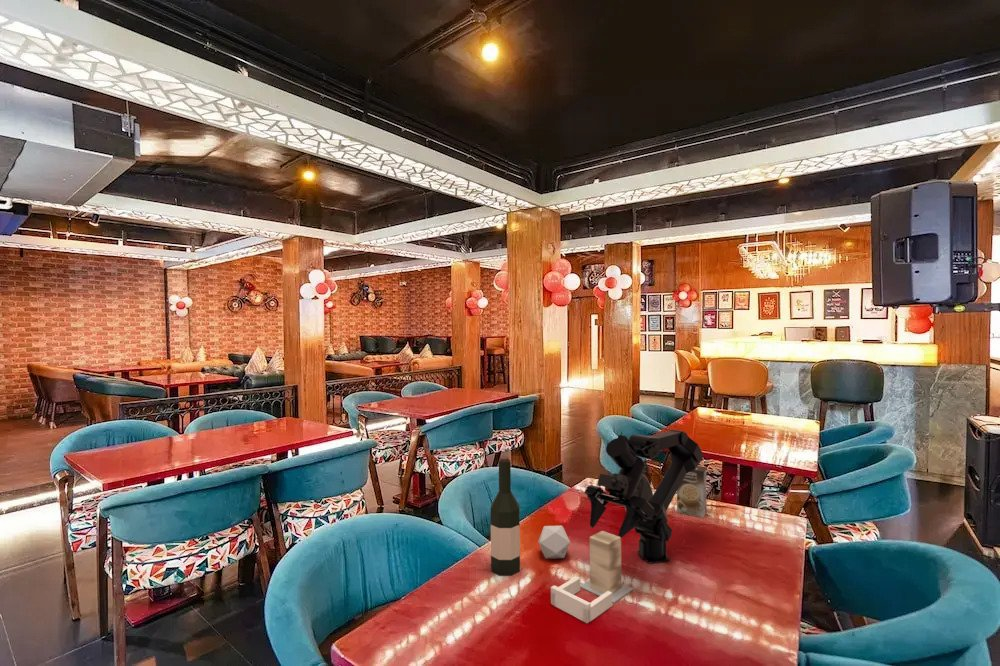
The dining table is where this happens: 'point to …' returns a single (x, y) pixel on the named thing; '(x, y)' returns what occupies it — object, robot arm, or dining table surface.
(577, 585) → the white angular bracket
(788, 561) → the dining table surface
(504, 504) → the wine bottle
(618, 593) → the grey pad
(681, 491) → the coffee box
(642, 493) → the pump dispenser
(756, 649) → the dining table surface
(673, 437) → the robot arm
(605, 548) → the birch block
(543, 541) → the die
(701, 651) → the dining table surface
